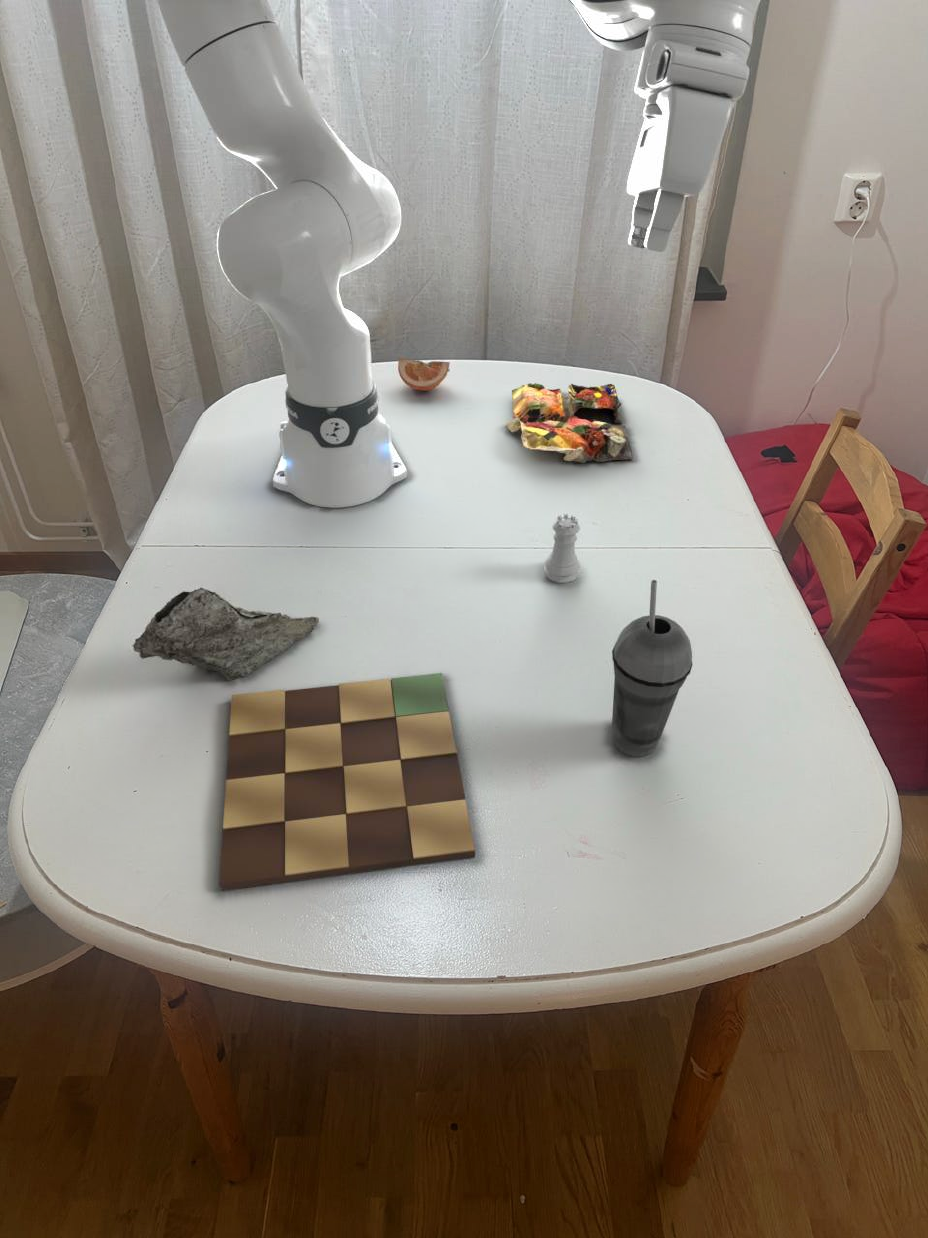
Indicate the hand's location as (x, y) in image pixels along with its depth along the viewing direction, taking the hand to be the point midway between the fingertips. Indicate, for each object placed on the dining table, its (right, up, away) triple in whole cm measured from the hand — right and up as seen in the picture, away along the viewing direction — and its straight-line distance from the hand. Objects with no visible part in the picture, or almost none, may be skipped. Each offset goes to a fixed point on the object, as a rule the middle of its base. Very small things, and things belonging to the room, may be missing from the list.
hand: (644, 248), depth 80 cm
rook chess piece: (-5, -29, +25) cm, 39 cm away
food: (-1, -5, +52) cm, 52 cm away
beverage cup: (0, -47, +6) cm, 47 cm away
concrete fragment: (-42, -39, +14) cm, 59 cm away
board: (-29, -50, +2) cm, 57 cm away
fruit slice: (-24, +3, +62) cm, 66 cm away
